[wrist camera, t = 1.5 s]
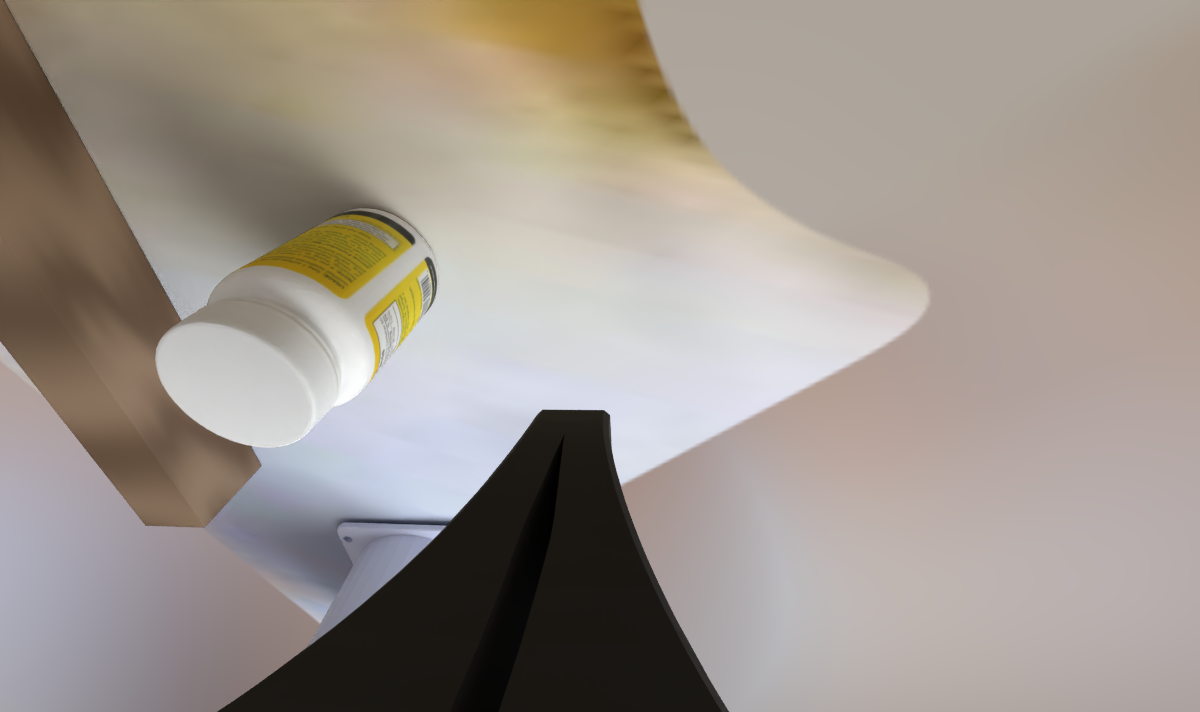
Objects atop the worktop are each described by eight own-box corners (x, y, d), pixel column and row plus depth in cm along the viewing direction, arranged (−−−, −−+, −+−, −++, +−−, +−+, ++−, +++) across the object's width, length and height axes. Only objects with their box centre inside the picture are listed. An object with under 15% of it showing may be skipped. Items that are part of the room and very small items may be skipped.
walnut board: (261, 465, 26) (204, 527, 23) (209, 464, 27) (145, 525, 23) (-39, -75, 15) (-242, -112, 11) (-124, -67, 15) (-348, -101, 12)
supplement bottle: (297, 234, 19) (93, 344, 12) (394, 184, 18) (227, 273, 11) (374, 334, 21) (239, 477, 14) (465, 296, 20) (365, 432, 13)
